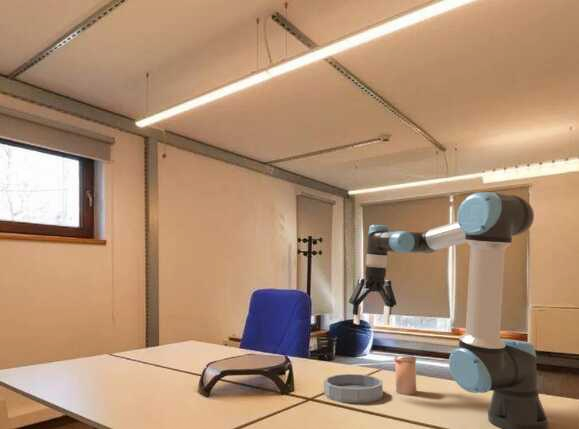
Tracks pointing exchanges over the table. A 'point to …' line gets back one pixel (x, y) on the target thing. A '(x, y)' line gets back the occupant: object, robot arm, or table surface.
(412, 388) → the terracotta jar
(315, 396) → the table surface
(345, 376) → the slate bowl
